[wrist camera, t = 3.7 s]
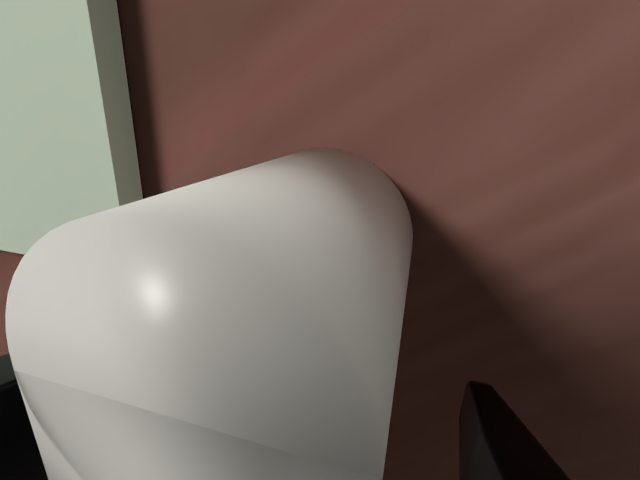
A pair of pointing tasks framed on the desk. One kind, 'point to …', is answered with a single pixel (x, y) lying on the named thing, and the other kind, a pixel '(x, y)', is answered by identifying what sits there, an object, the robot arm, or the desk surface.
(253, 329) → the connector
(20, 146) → the sage mat
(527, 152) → the desk surface
